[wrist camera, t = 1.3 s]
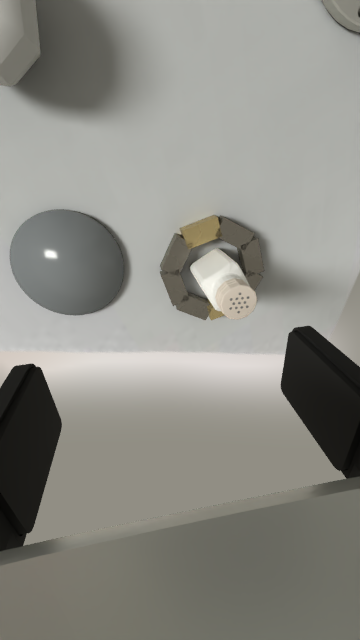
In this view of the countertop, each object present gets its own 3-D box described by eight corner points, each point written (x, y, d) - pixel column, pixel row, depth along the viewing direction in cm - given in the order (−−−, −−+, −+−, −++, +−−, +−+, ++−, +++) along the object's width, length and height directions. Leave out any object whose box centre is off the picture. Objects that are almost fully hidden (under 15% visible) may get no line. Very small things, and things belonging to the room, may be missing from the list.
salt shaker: (217, 244, 30) (250, 270, 21) (233, 273, 31) (269, 307, 23) (186, 264, 30) (207, 298, 22) (204, 291, 32) (229, 332, 24)
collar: (246, 202, 28) (251, 203, 27) (263, 293, 33) (269, 298, 32) (147, 240, 28) (148, 243, 27) (181, 324, 34) (183, 330, 32)
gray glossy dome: (93, 191, 25) (92, 192, 25) (139, 292, 31) (140, 294, 30) (-13, 234, 26) (-17, 235, 25) (51, 326, 31) (49, 328, 30)
